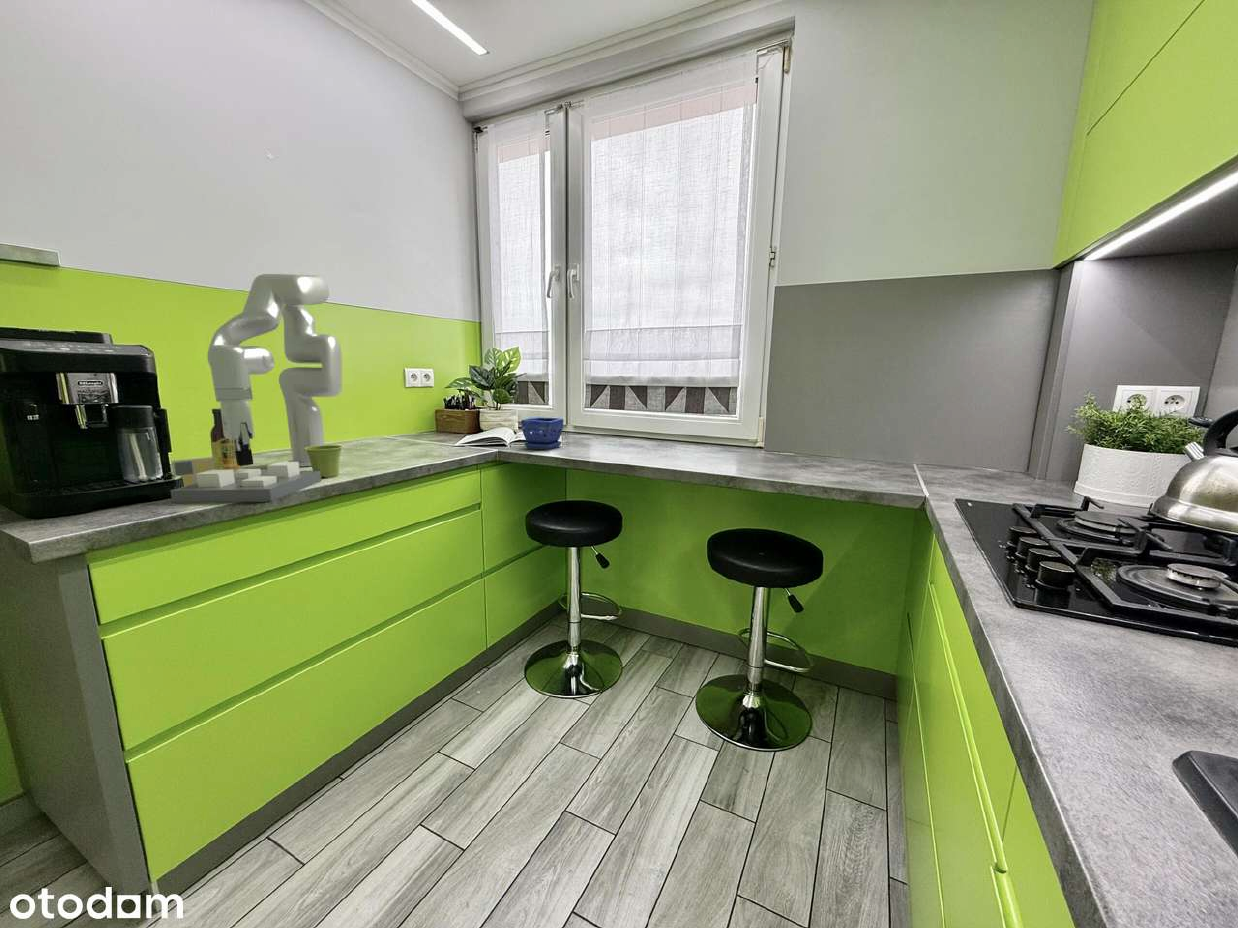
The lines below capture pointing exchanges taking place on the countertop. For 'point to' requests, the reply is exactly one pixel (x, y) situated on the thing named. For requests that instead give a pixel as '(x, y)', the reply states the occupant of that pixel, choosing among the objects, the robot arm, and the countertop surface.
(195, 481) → the card
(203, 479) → the button
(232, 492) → the button board
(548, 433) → the flower pot
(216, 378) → the robot arm
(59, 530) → the countertop surface
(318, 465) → the plant pot
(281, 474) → the button
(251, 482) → the button
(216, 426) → the sauce bottle
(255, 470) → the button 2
